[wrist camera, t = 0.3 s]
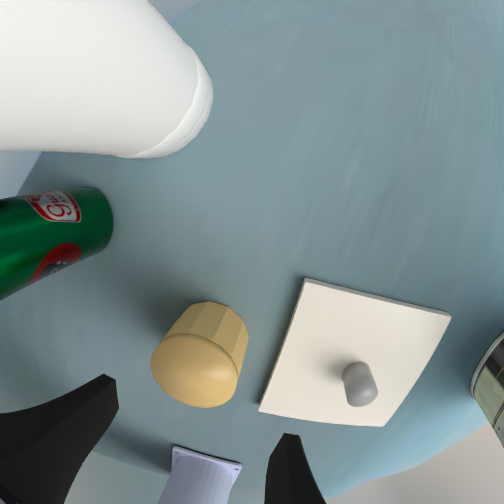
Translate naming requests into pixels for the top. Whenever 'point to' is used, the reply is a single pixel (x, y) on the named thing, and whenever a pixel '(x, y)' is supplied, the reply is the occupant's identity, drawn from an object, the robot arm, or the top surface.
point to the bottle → (97, 79)
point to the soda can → (50, 234)
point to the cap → (201, 355)
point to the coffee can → (491, 386)
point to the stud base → (350, 356)
